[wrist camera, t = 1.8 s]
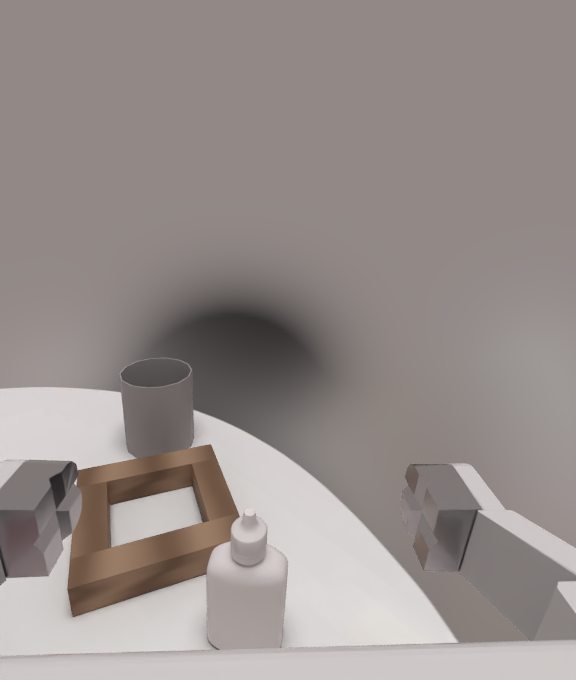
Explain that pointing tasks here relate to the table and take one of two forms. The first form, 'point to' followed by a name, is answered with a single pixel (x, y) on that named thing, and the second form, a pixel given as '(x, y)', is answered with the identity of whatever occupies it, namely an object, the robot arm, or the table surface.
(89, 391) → the table surface
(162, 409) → the cup
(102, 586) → the socket block
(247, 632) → the eye dropper bottle
